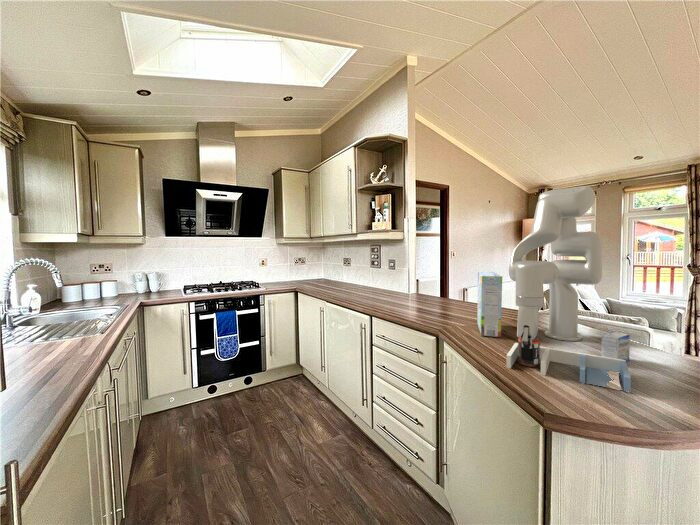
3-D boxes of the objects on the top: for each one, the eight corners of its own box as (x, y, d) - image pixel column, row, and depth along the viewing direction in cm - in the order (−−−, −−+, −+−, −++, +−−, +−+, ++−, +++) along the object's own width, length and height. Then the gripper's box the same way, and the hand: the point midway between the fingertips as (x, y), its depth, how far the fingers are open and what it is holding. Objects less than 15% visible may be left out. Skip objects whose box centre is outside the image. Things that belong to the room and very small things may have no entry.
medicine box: (618, 365, 94) (618, 338, 93) (600, 361, 98) (601, 335, 97) (629, 360, 98) (630, 334, 97) (612, 356, 102) (613, 331, 101)
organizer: (515, 353, 106) (515, 342, 106) (625, 373, 89) (625, 360, 88) (506, 367, 95) (506, 355, 95) (630, 393, 77) (630, 378, 77)
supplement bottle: (542, 368, 94) (543, 332, 93) (522, 367, 95) (522, 332, 94) (535, 361, 100) (535, 327, 99) (515, 360, 101) (515, 326, 100)
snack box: (503, 338, 124) (503, 276, 122) (480, 336, 127) (480, 275, 125) (496, 324, 144) (496, 271, 143) (476, 323, 147) (476, 271, 146)
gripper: (520, 296, 105) (520, 347, 106) (510, 305, 92) (510, 362, 93) (545, 298, 101) (545, 351, 102) (539, 307, 87) (539, 368, 88)
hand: (528, 356), depth 97 cm, fingers closed on supplement bottle, 6 cm apart
